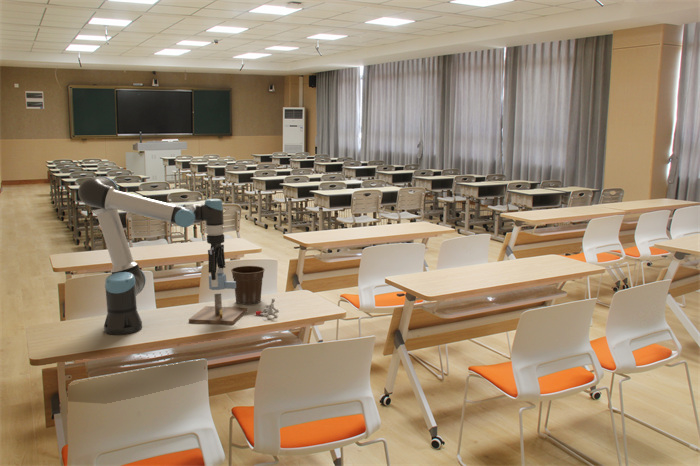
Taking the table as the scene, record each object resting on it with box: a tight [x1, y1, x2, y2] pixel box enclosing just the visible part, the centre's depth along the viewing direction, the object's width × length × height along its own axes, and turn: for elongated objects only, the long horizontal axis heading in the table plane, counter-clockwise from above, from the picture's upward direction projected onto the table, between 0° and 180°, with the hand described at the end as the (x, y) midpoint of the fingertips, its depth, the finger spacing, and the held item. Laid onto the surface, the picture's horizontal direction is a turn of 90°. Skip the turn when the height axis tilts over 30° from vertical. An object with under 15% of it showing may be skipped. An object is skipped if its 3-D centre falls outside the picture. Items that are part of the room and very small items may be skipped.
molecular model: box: [255, 298, 279, 318], centre depth 270 cm, size 14×8×10 cm
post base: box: [188, 292, 248, 325], centre depth 267 cm, size 20×20×10 cm
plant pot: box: [230, 265, 266, 305], centre depth 291 cm, size 16×16×16 cm
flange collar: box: [208, 273, 236, 291], centre depth 264 cm, size 12×7×6 cm, turn 82°
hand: (217, 284), depth 265 cm, fingers closed on flange collar, 7 cm apart
